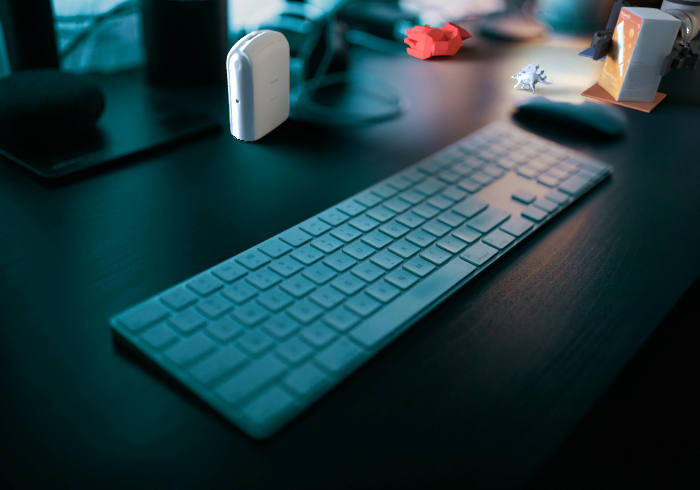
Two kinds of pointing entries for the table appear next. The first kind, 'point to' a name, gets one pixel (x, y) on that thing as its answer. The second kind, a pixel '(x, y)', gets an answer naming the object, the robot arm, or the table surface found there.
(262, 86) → the photo printer
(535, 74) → the stegosaurus
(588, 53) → the slate mat
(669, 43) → the small box
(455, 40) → the animal figurine
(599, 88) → the terracotta mat
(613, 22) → the two-way radio
